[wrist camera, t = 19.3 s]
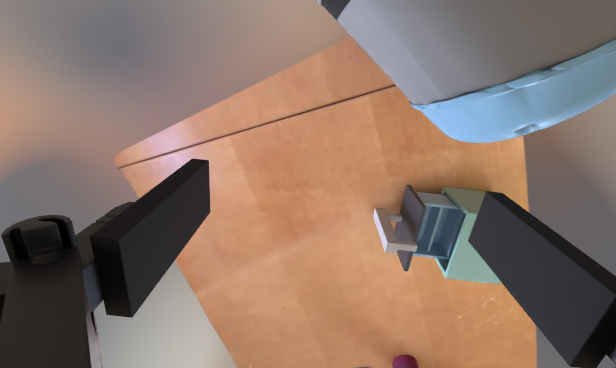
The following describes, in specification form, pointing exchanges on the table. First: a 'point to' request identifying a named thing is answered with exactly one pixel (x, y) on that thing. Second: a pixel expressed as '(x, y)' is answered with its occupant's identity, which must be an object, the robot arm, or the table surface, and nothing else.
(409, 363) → the cup
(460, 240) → the box
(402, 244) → the dark grey drawer
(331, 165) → the table surface
